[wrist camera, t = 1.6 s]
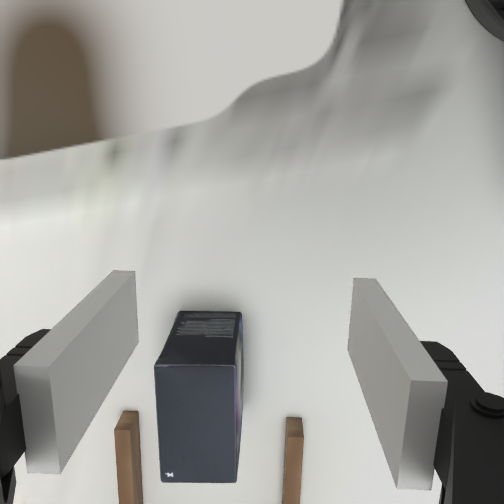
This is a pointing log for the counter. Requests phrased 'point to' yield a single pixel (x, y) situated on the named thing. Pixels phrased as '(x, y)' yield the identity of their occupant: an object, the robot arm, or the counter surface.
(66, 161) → the counter surface
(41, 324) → the counter surface
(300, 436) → the channel
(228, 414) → the small box
